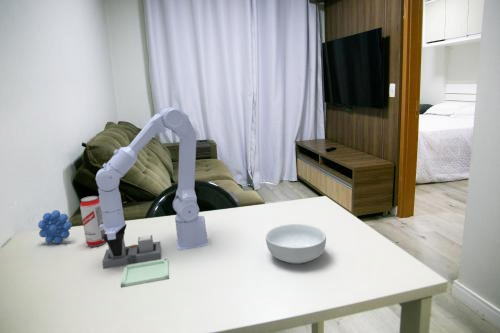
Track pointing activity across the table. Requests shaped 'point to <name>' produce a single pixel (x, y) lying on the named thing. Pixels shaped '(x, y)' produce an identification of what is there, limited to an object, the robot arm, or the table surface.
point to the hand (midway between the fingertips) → (118, 252)
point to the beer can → (92, 221)
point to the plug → (122, 250)
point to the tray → (145, 272)
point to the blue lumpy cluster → (54, 227)
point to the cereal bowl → (296, 242)
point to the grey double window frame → (132, 256)
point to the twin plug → (145, 244)
